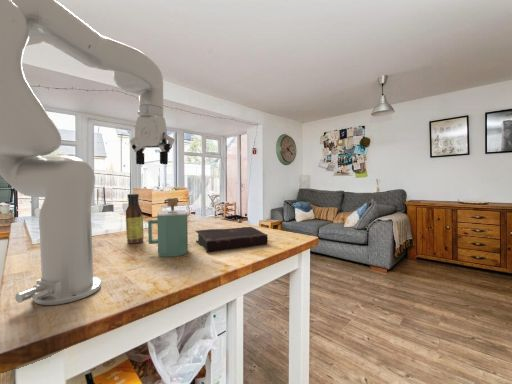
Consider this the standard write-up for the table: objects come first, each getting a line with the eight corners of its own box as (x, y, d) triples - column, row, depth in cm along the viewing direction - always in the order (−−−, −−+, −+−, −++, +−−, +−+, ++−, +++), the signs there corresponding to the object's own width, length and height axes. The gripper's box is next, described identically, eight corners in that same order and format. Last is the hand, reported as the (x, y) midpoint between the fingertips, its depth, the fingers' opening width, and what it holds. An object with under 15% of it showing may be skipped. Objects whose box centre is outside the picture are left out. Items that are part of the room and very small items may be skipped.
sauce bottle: (146, 241, 103) (145, 193, 102) (132, 245, 98) (131, 194, 96) (137, 239, 107) (136, 193, 105) (123, 242, 101) (121, 194, 100)
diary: (268, 246, 100) (268, 234, 99) (206, 255, 89) (206, 241, 88) (248, 235, 116) (248, 225, 116) (195, 241, 105) (195, 230, 105)
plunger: (183, 242, 86) (183, 198, 85) (161, 244, 84) (160, 199, 83) (183, 237, 93) (182, 197, 92) (162, 239, 91) (161, 197, 90)
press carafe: (188, 255, 85) (188, 213, 84) (147, 259, 81) (146, 215, 80) (187, 247, 95) (186, 209, 94) (150, 250, 91) (149, 211, 90)
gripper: (122, 112, 83) (123, 163, 84) (166, 108, 78) (166, 163, 79) (139, 117, 91) (139, 165, 91) (180, 114, 85) (180, 164, 86)
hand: (151, 164), depth 85 cm, fingers open, 9 cm apart
